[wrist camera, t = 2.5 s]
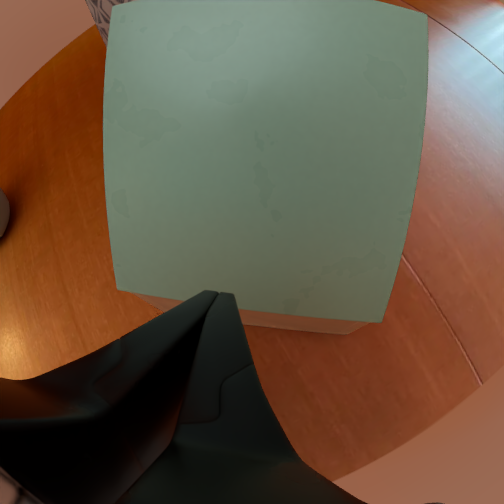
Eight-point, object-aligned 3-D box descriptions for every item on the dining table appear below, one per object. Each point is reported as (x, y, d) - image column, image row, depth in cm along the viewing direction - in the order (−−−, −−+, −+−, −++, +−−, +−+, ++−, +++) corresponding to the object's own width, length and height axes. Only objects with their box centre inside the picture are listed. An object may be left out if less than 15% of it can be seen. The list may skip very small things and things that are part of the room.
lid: (120, 10, 10) (111, 5, 9) (421, 19, 9) (427, 14, 8) (123, 282, 16) (116, 290, 15) (378, 314, 15) (381, 323, 14)
